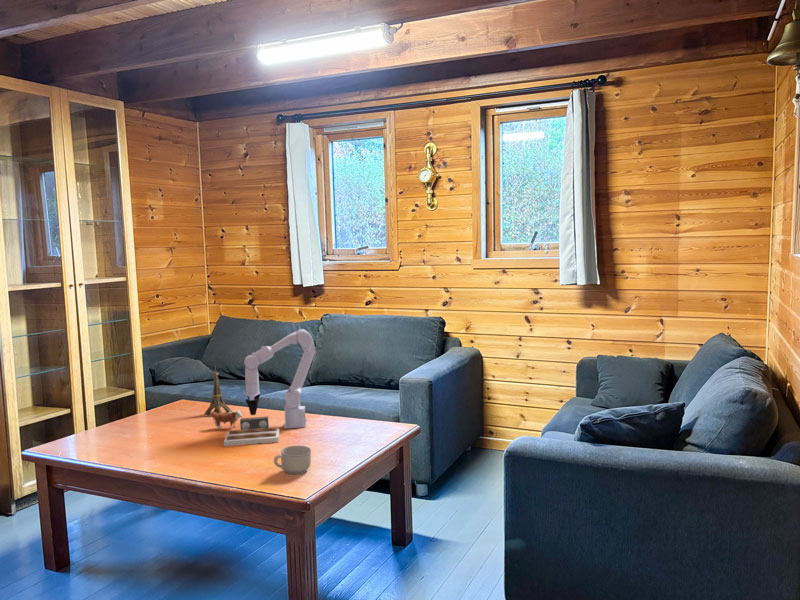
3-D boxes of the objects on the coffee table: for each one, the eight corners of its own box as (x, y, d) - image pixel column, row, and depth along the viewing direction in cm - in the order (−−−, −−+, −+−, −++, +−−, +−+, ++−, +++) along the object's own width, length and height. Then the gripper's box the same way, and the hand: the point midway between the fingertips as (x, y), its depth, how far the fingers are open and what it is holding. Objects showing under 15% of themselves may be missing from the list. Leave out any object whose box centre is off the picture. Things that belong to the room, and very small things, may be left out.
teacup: (306, 464, 232) (305, 443, 231) (316, 472, 222) (315, 450, 222) (269, 471, 225) (268, 449, 225) (278, 480, 216) (277, 458, 215)
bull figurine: (242, 429, 282) (241, 411, 281) (212, 429, 282) (211, 412, 281) (244, 426, 286) (243, 408, 286) (215, 427, 286) (214, 409, 286)
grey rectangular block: (268, 428, 282) (268, 416, 282) (268, 430, 279) (267, 418, 278) (241, 430, 280) (240, 418, 280) (240, 432, 277) (240, 420, 276)
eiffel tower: (216, 410, 317) (213, 362, 315) (233, 412, 313) (230, 362, 311) (202, 416, 308) (199, 365, 306) (219, 417, 304) (216, 366, 302)
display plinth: (279, 432, 274) (279, 425, 274) (278, 442, 260) (278, 434, 260) (227, 436, 270) (227, 429, 270) (224, 446, 257) (223, 438, 256)
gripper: (244, 379, 284) (245, 409, 285) (241, 386, 270) (243, 417, 271) (260, 378, 285) (261, 408, 286) (258, 385, 271) (259, 416, 272)
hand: (253, 412), depth 279 cm, fingers open, 7 cm apart
